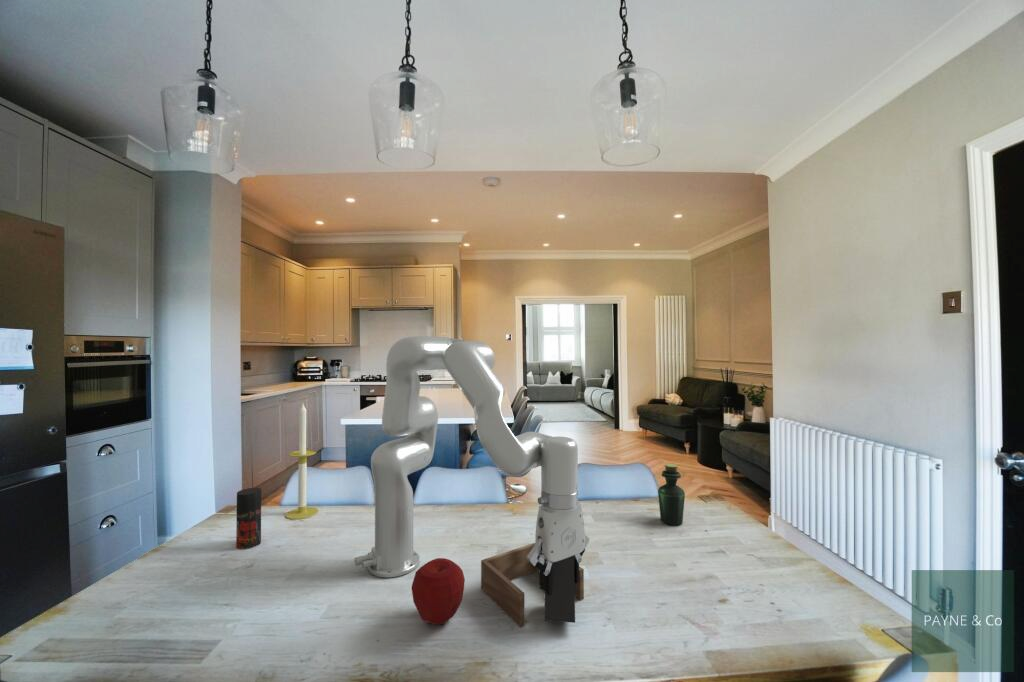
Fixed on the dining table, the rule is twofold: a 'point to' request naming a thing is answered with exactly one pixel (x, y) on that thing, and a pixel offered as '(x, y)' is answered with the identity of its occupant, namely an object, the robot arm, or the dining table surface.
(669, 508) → the potion bottle
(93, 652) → the dining table surface
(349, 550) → the dining table surface
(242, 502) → the deodorant
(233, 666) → the dining table surface
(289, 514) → the candle
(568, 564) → the phone stand
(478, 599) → the dining table surface
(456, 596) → the apple
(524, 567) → the open box
